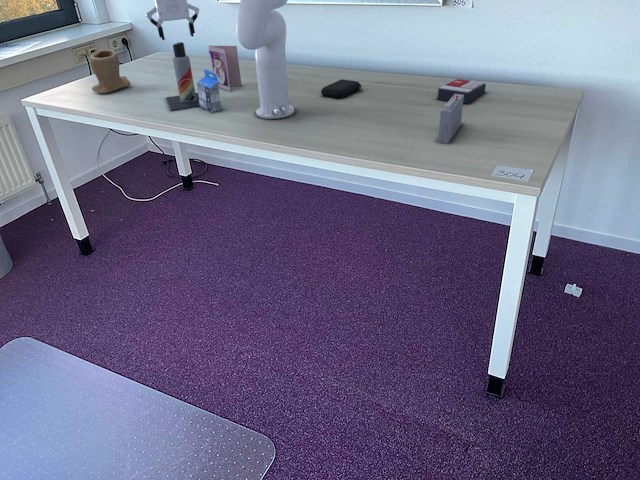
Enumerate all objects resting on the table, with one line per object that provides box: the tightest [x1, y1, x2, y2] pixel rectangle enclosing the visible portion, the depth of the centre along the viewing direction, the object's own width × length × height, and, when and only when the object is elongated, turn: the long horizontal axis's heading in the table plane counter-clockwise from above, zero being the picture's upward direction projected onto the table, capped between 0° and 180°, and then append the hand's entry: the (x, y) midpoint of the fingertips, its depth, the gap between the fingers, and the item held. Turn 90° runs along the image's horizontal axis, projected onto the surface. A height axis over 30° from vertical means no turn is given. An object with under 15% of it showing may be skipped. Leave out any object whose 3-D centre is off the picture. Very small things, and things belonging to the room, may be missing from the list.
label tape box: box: [196, 68, 222, 113], centre depth 176 cm, size 9×4×12 cm, turn 40°
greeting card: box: [207, 45, 243, 92], centre depth 198 cm, size 11×7×15 cm, turn 42°
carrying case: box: [320, 78, 362, 99], centre depth 188 cm, size 11×3×15 cm
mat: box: [166, 92, 202, 112], centre depth 188 cm, size 16×14×1 cm
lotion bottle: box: [172, 41, 196, 103], centre depth 183 cm, size 6×6×20 cm
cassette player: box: [437, 94, 464, 144], centre depth 148 cm, size 16×3×10 cm, turn 154°
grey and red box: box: [437, 78, 487, 105], centre depth 178 cm, size 11×4×15 cm
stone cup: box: [89, 49, 131, 94], centre depth 202 cm, size 15×12×15 cm
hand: (177, 37), depth 176 cm, fingers open, 9 cm apart
